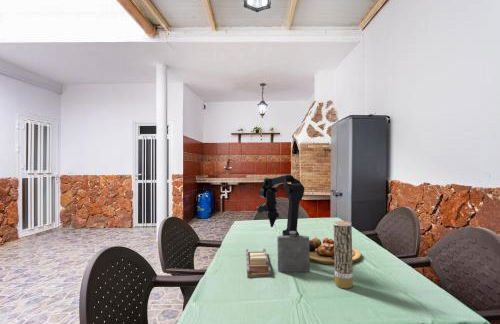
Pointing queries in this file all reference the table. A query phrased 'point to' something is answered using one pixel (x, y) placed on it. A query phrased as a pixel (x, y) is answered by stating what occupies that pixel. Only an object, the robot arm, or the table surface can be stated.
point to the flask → (293, 253)
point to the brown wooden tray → (258, 267)
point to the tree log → (343, 254)
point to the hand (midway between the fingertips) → (271, 227)
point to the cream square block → (257, 259)
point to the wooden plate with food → (327, 251)
